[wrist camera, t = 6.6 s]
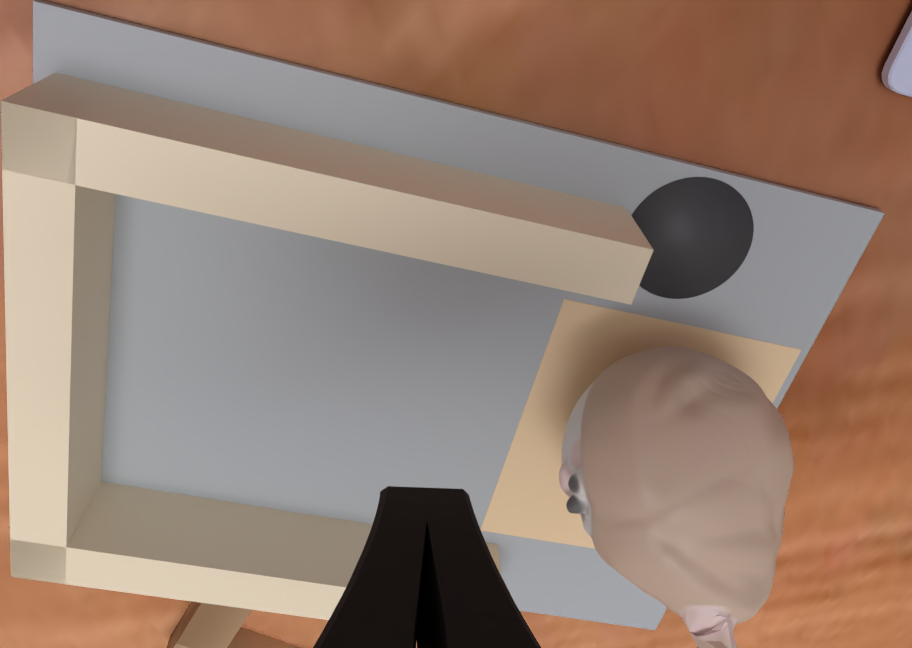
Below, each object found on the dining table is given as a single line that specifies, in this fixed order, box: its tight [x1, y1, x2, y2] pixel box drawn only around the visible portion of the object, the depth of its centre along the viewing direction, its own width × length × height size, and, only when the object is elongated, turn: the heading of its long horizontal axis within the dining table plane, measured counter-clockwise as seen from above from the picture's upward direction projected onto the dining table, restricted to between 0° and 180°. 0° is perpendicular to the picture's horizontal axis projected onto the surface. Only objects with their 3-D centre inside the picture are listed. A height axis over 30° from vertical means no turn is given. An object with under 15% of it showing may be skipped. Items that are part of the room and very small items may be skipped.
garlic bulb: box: [559, 346, 794, 648], centre depth 21 cm, size 7×6×8 cm
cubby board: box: [1, 0, 885, 630], centre depth 22 cm, size 22×17×3 cm
